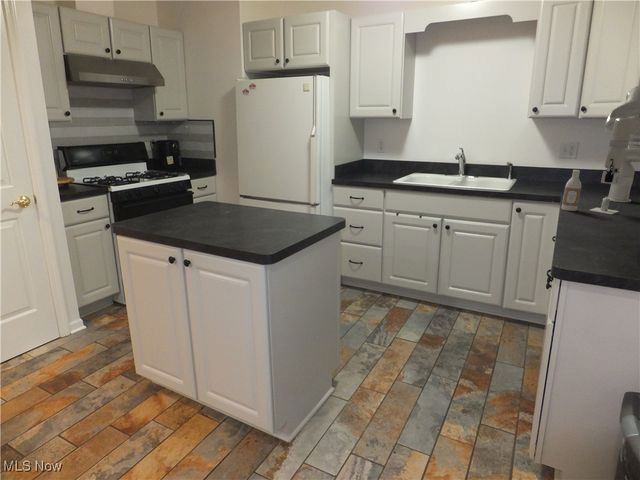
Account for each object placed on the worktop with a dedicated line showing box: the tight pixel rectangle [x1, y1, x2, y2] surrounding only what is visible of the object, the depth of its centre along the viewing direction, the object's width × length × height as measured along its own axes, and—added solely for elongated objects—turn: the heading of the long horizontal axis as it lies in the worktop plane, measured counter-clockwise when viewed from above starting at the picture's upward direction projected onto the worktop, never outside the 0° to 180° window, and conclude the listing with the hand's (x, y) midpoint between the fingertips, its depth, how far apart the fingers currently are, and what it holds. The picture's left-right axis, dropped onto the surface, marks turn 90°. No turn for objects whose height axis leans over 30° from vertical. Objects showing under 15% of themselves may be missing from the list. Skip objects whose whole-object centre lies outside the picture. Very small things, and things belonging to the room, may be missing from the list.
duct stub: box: [589, 197, 620, 215], centre depth 216 cm, size 10×10×6 cm
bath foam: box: [561, 169, 582, 212], centre depth 215 cm, size 7×7×20 cm
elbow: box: [600, 170, 635, 187], centre depth 210 cm, size 12×6×6 cm, turn 40°
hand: (610, 181), depth 212 cm, fingers closed on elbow, 6 cm apart
